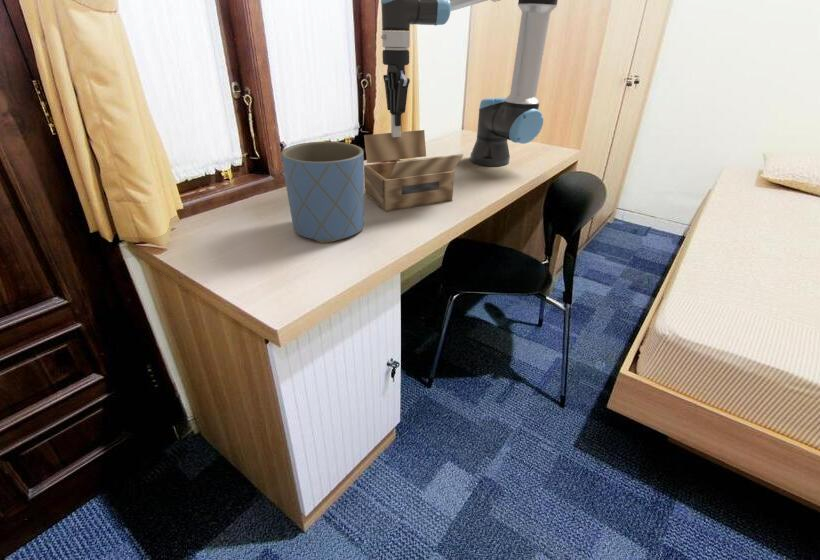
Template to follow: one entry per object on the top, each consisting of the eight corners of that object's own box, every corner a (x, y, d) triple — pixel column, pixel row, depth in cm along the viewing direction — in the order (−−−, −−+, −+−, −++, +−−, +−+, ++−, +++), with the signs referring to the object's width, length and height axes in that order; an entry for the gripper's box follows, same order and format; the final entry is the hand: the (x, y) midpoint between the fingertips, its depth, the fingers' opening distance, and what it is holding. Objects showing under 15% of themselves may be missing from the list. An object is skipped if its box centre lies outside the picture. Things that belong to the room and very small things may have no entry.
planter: (381, 230, 112) (380, 152, 102) (319, 252, 101) (310, 167, 91) (337, 209, 124) (332, 137, 114) (277, 227, 112) (265, 149, 102)
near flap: (463, 153, 119) (463, 155, 119) (451, 169, 126) (452, 171, 126) (396, 161, 111) (397, 162, 111) (388, 178, 119) (389, 179, 118)
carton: (428, 184, 144) (430, 157, 139) (453, 200, 132) (456, 171, 127) (363, 193, 135) (362, 165, 131) (384, 212, 123) (383, 181, 118)
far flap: (426, 156, 138) (425, 156, 139) (424, 130, 136) (423, 130, 136) (367, 163, 131) (367, 163, 131) (364, 135, 128) (363, 135, 129)
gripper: (374, 48, 124) (376, 133, 136) (393, 49, 114) (393, 142, 126) (398, 48, 127) (398, 131, 139) (418, 49, 117) (416, 139, 129)
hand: (396, 136), depth 132 cm, fingers closed
